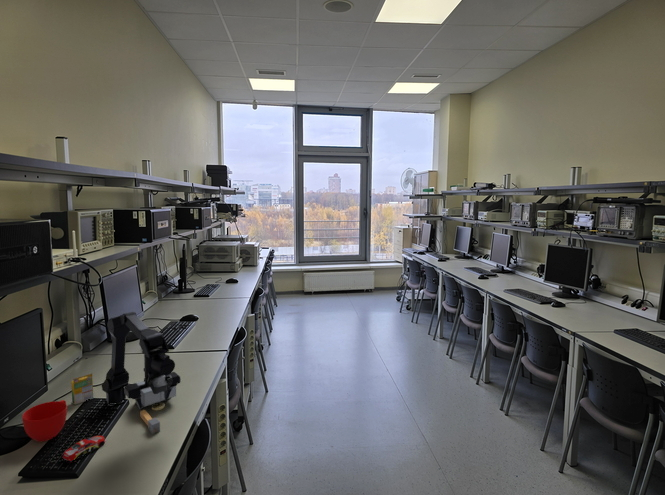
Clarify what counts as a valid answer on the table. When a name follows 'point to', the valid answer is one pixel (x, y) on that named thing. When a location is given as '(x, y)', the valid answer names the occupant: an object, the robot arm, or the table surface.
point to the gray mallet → (150, 421)
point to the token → (158, 406)
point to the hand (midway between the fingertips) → (153, 405)
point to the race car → (83, 447)
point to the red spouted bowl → (45, 420)
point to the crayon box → (82, 389)
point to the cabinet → (153, 395)
